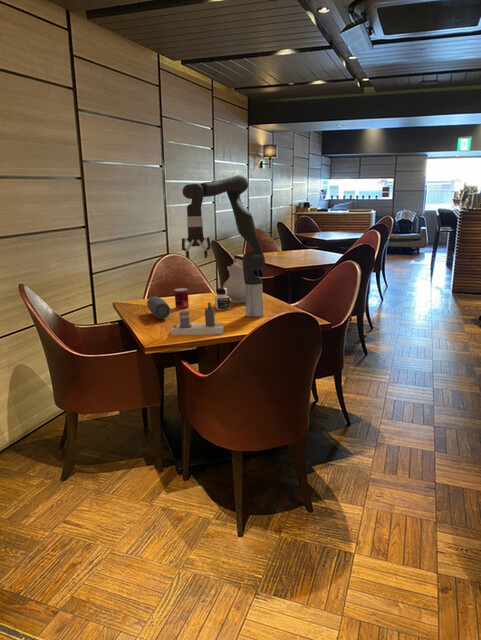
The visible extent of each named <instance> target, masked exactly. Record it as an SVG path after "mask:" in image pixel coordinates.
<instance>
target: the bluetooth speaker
mask: <svg viewBox="0 0 481 640" xmlns="http://www.w3.org/2000/svg"><path fill="white" fill-rule="evenodd" d="M146 306H147V308H148V310H149V312H151V313H152V315H154V316H155V318H157V319H166V318H168V317H169V315H171V307H170V305H169V304H168V302H166V301H165V300H164V299H163V298H161V297H159V296H156V295H155V296H151V297H149V298H148V300H147V302H146Z"/></svg>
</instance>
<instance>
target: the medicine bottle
mask: <svg viewBox="0 0 481 640" xmlns="http://www.w3.org/2000/svg"><path fill="white" fill-rule="evenodd" d="M215 291H216V295H214V306H215V308H214V309H216V310H217V311H224V310H225V311H226V310H230V309H231V302H230V301H231V298H230V297H229V296H227V288H223V287H217V288H216V290H215Z"/></svg>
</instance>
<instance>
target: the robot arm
mask: <svg viewBox="0 0 481 640" xmlns="http://www.w3.org/2000/svg"><path fill="white" fill-rule="evenodd" d="M248 187H249V182H248V180H247V178H246V177H245V176H243V175H241V174H237V175H234V176H232V177H229V178H225V179H221V180H216V181H206V182H201V183H189V184H186V185H184V187H182V195H183V197H185V198H186V199H187V200H191V202H190V203H189V204H187V206H186V212H187V213H186V215H187V217H186V226H187V238H185V237H183V238H181V250H182V251H184V252H185V257H186V259H187V260H189V259H190V251H189V250H190V249H191V247H201V248H202V249H203V250H204V259H207V258H208V251H209V250H211V248H212V246H211V239H210V236H208V237H205V236H204V227H203V226H204V225H203V218H202V217H203V216H202V205H203V201H204V200H203V199H204V198H208V197H209V198H210V197H216V196H219V195H221V194H223V193H226V194H227V197H228V200H229V203H230V205H231V209H232V213H233V216H234V219H235V224H236V229H237V231H238V233H239V236H241V237H242V238H243V239H244V240H245V241H246V243H247V244H248V245H249V247H250V249H251V251H252V252H246V253H244V254H243V256H242V264H241V265H242V266H243V276H244V281H245V302H244V303H245V306H244V307H245V316H246V317H248V318H259V317H264V294H263V293H264V292H263V278H262V277H261V276H258V275H255V274H254V271H259V270H260V271H261V270H263V269H264V268H265V267H266V259H265V255H264V252H263V249H262V247H261V244H260V241H259V238H258V234H257V230H256V226H255V221H254V218H253V215H252V214H251V212H250V211H249V210H248V208H246V207H245V206H244V204H243V203H242V200H241V195H242V194H243V193H244V192H246V190H248ZM204 241H205V242H206V243H207V247H206V245H205V244H204ZM187 242H188V243H189V244H188V246H187V247H186V243H187Z"/></svg>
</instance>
